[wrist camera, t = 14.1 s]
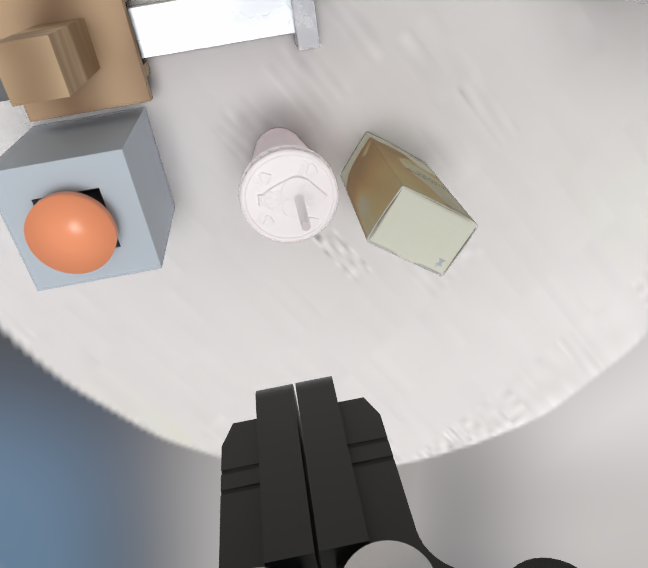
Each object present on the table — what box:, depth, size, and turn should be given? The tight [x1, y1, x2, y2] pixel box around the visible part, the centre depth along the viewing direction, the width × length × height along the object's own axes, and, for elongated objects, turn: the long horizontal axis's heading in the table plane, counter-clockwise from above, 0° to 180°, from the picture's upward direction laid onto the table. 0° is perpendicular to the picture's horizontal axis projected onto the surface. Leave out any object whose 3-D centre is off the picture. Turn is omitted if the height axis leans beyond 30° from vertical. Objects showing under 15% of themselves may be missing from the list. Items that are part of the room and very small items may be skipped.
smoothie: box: [239, 128, 338, 242], centre depth 38 cm, size 6×6×14 cm
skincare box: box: [341, 132, 478, 276], centre depth 41 cm, size 6×4×12 cm
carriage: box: [0, 0, 153, 122], centre depth 33 cm, size 8×8×11 cm
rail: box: [0, 0, 320, 101], centre depth 37 cm, size 22×5×3 cm, turn 98°
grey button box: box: [0, 107, 175, 291], centre depth 39 cm, size 8×8×10 cm
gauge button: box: [24, 188, 118, 274], centre depth 36 cm, size 5×5×7 cm
